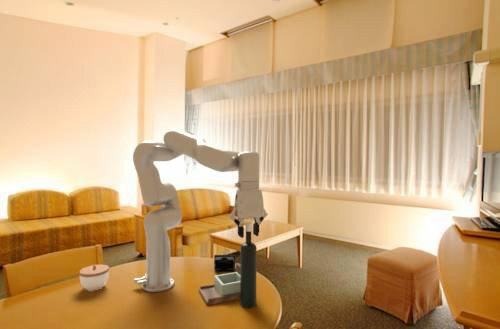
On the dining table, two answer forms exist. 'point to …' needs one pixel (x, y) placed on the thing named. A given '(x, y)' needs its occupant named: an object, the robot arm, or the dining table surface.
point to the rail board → (212, 294)
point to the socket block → (227, 283)
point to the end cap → (224, 263)
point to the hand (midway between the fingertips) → (248, 235)
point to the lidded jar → (94, 276)
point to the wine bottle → (248, 270)
